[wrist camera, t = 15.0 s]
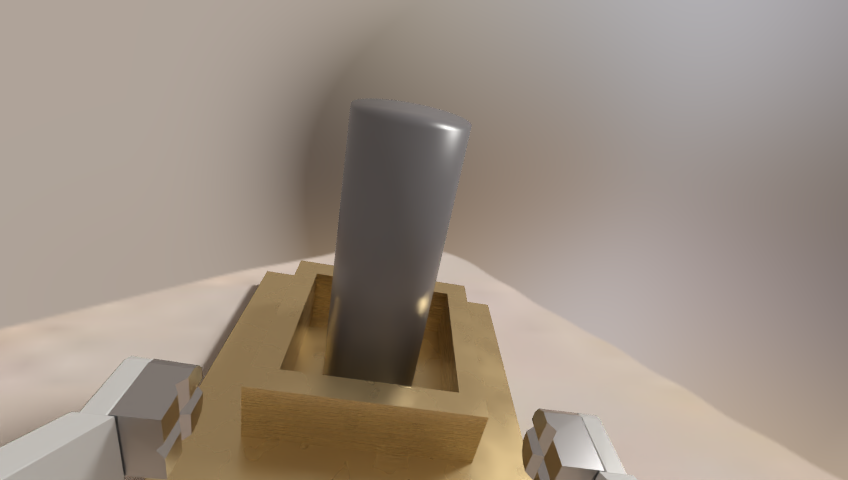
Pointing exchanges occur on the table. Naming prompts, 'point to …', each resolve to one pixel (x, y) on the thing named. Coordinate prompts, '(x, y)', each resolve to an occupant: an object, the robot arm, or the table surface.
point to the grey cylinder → (390, 235)
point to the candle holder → (351, 398)
